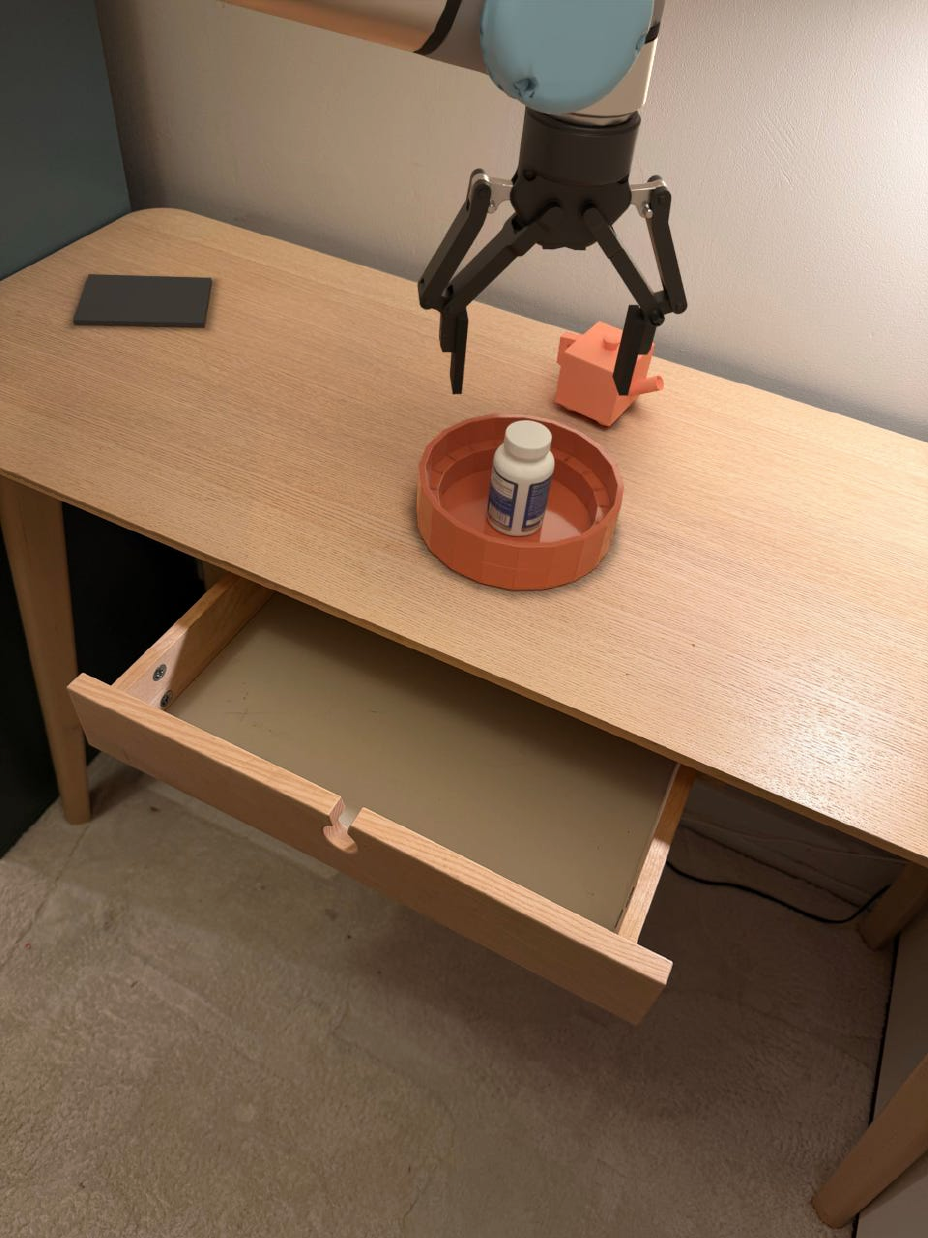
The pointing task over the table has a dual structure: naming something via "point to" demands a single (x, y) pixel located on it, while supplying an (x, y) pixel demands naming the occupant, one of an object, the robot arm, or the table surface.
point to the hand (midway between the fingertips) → (538, 385)
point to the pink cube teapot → (598, 374)
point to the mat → (144, 301)
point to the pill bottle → (521, 479)
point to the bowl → (572, 516)
